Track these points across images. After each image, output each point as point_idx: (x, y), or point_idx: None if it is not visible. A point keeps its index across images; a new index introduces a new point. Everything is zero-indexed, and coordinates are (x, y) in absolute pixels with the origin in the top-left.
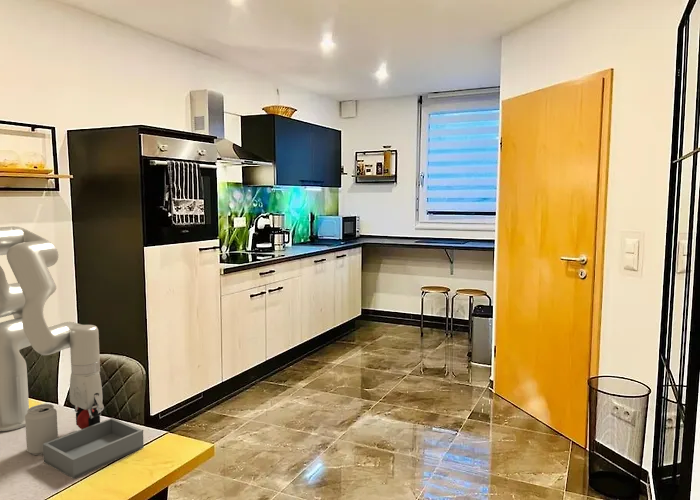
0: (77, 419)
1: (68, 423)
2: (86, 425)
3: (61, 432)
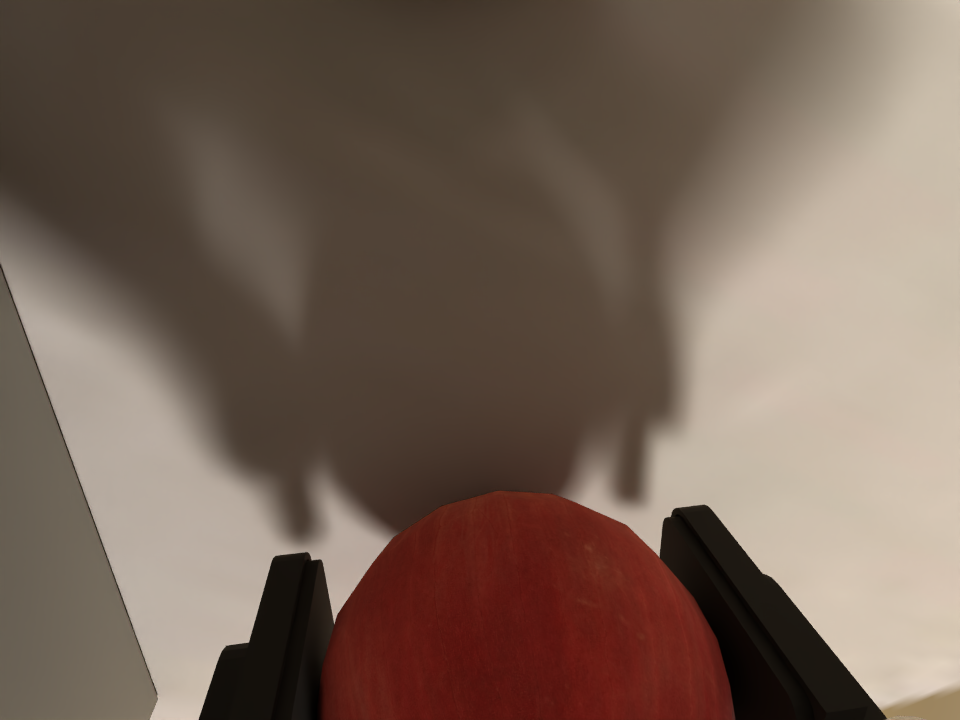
0: (607, 598)
1: (957, 465)
2: (350, 602)
3: (809, 287)
